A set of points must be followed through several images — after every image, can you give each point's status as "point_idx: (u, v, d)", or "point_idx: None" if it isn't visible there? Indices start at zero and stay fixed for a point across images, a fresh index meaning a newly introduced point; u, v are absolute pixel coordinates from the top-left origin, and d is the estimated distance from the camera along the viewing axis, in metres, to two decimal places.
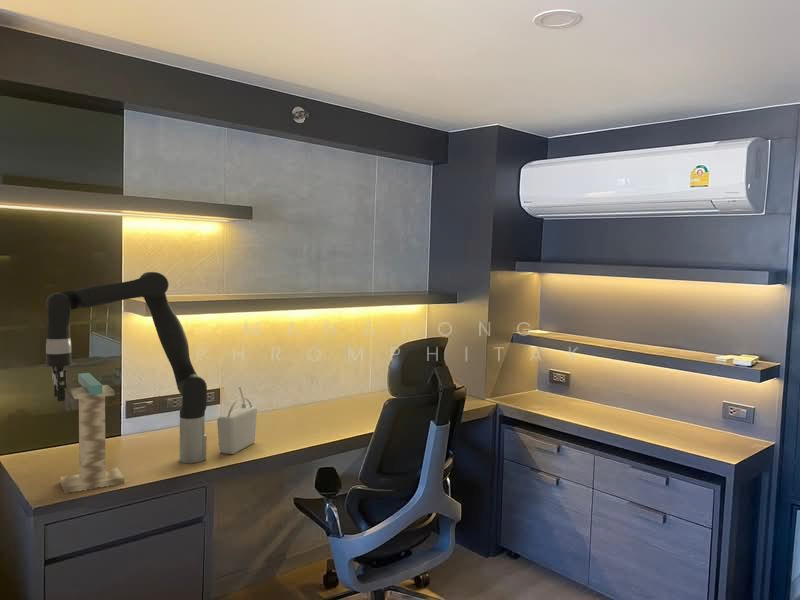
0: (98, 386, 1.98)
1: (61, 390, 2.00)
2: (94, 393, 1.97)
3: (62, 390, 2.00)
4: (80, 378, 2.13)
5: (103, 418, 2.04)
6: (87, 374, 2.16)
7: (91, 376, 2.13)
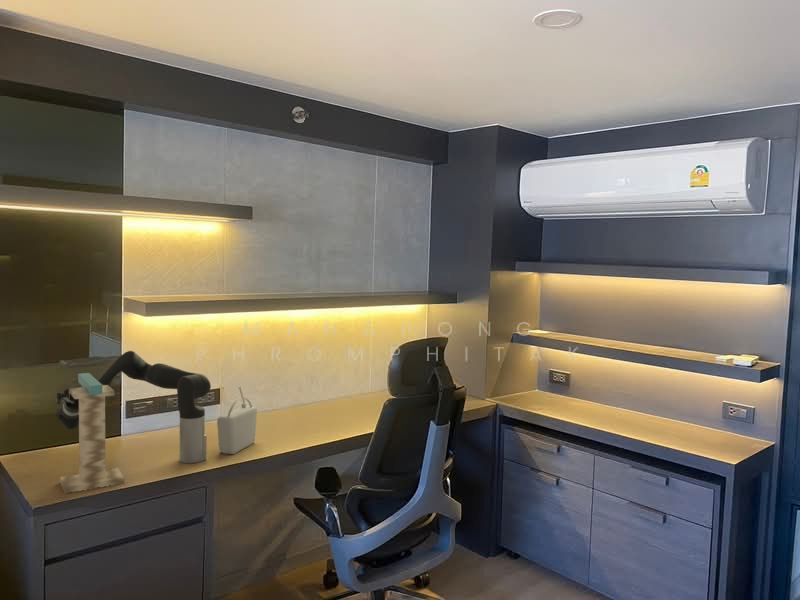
0: (98, 386, 1.98)
1: (62, 395, 2.23)
2: (94, 393, 1.97)
3: (62, 394, 2.24)
4: (80, 378, 2.13)
5: (103, 418, 2.04)
6: (87, 374, 2.16)
7: (91, 376, 2.13)
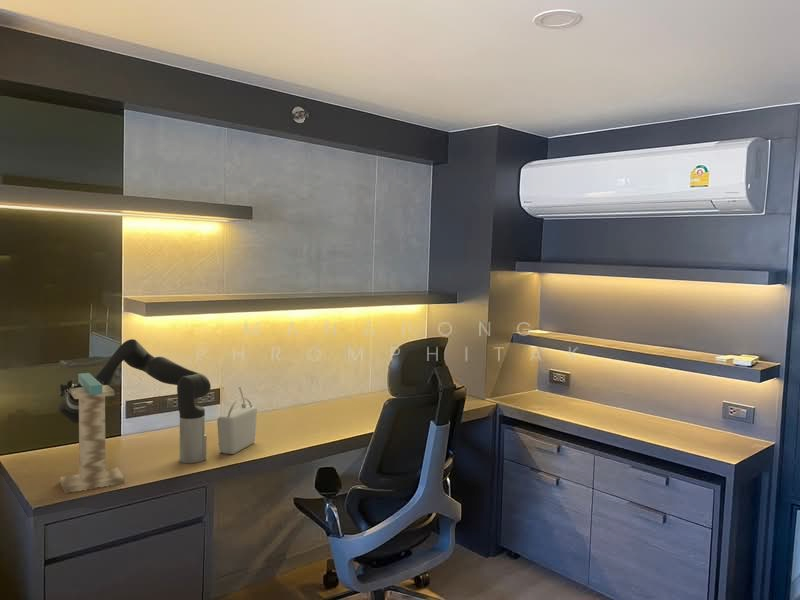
0: (98, 386, 1.98)
1: (65, 386, 2.17)
2: (94, 393, 1.97)
3: (66, 385, 2.17)
4: (80, 378, 2.13)
5: (103, 418, 2.04)
6: (87, 374, 2.16)
7: (91, 376, 2.13)
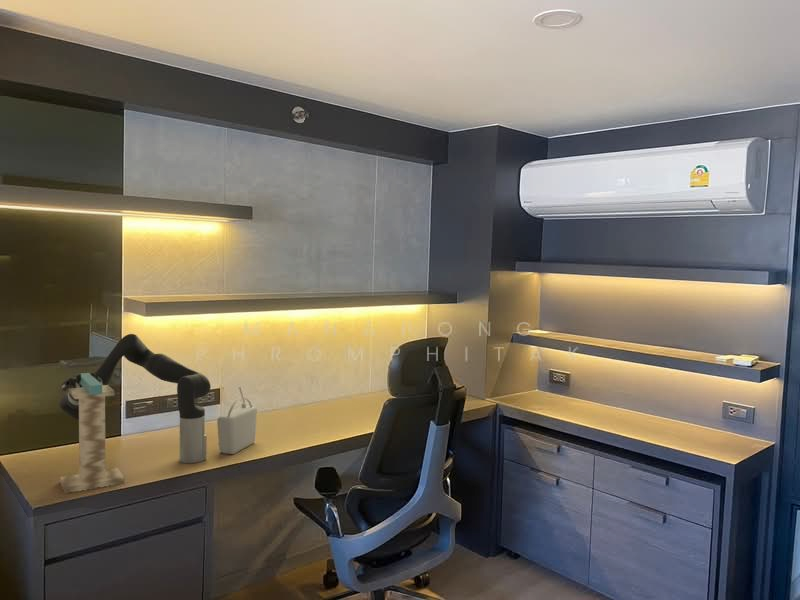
0: (98, 386, 1.98)
1: (74, 380, 2.14)
2: (94, 393, 1.97)
3: (74, 379, 2.14)
4: None
5: (103, 418, 2.04)
6: (87, 374, 2.16)
7: (91, 376, 2.13)
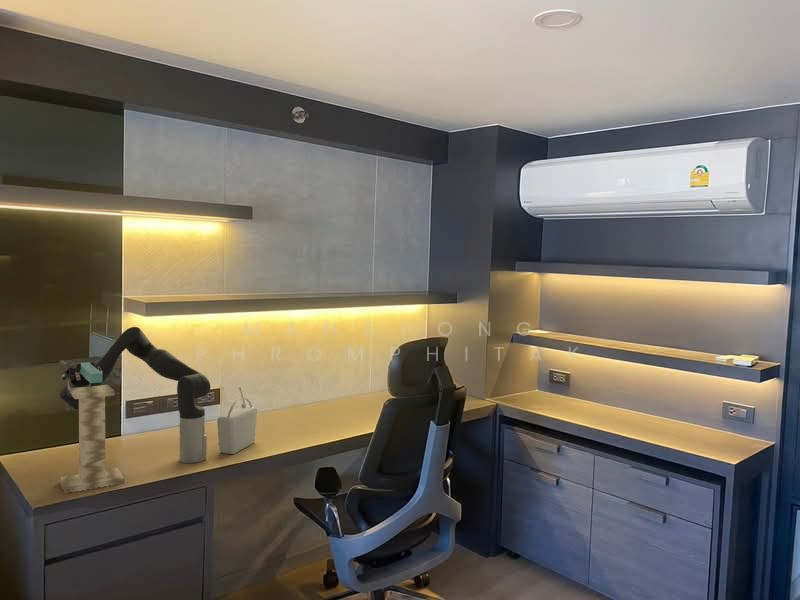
0: (98, 374, 1.98)
1: (74, 369, 2.14)
2: (94, 381, 1.97)
3: (74, 368, 2.14)
4: None
5: (103, 418, 2.04)
6: (87, 363, 2.16)
7: (91, 365, 2.12)
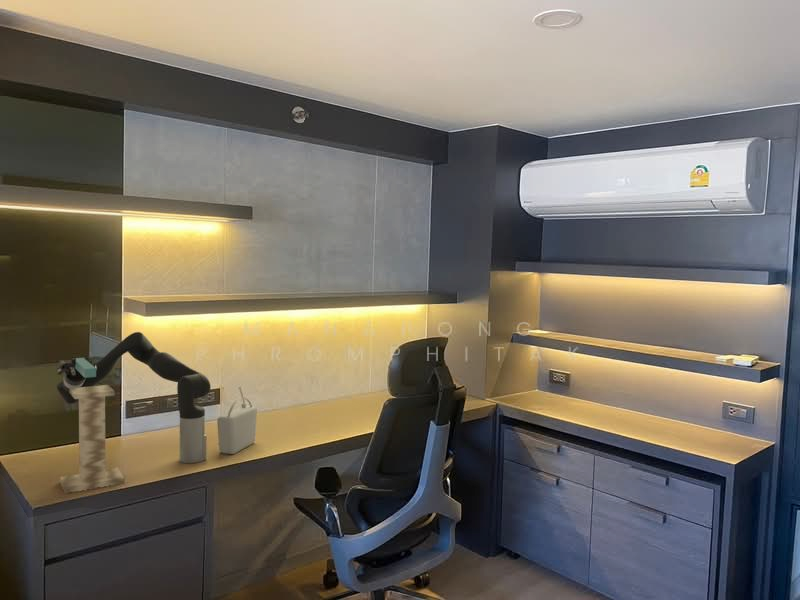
0: (92, 369, 2.07)
1: (69, 364, 2.23)
2: (88, 376, 2.06)
3: (69, 364, 2.23)
4: None
5: (103, 418, 2.04)
6: (82, 359, 2.25)
7: (85, 360, 2.21)
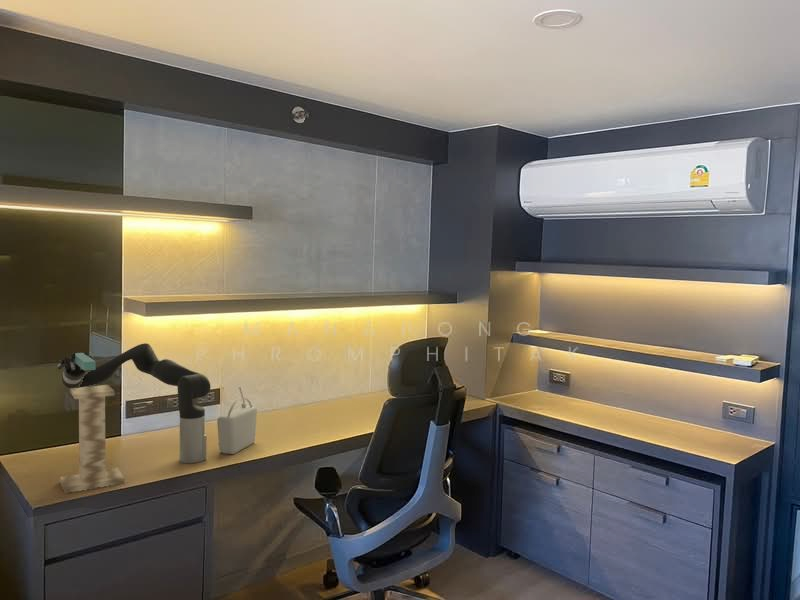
0: (91, 362, 2.12)
1: (69, 359, 2.28)
2: (88, 369, 2.11)
3: (69, 358, 2.28)
4: None
5: (103, 418, 2.04)
6: (81, 353, 2.30)
7: (85, 355, 2.27)
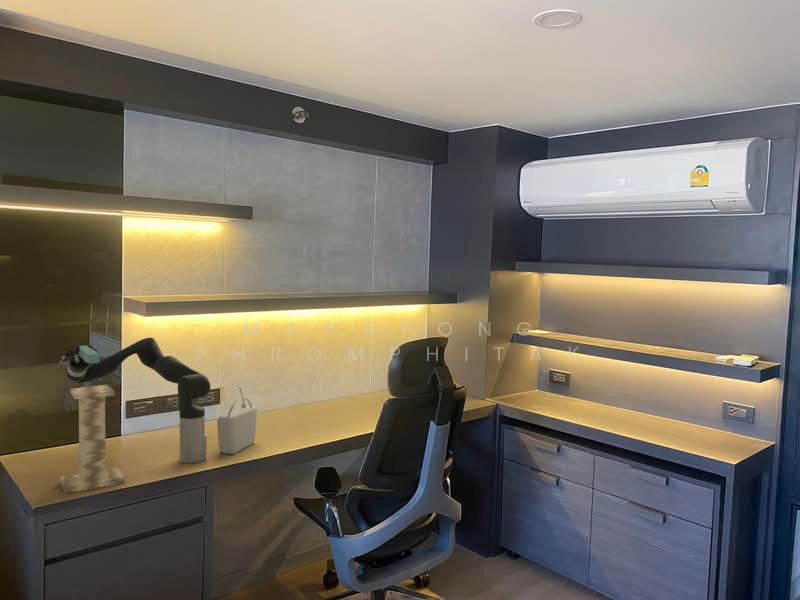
0: (95, 355, 2.12)
1: (73, 352, 2.29)
2: (91, 362, 2.12)
3: (73, 351, 2.29)
4: None
5: (103, 418, 2.04)
6: (85, 346, 2.31)
7: (89, 348, 2.27)
